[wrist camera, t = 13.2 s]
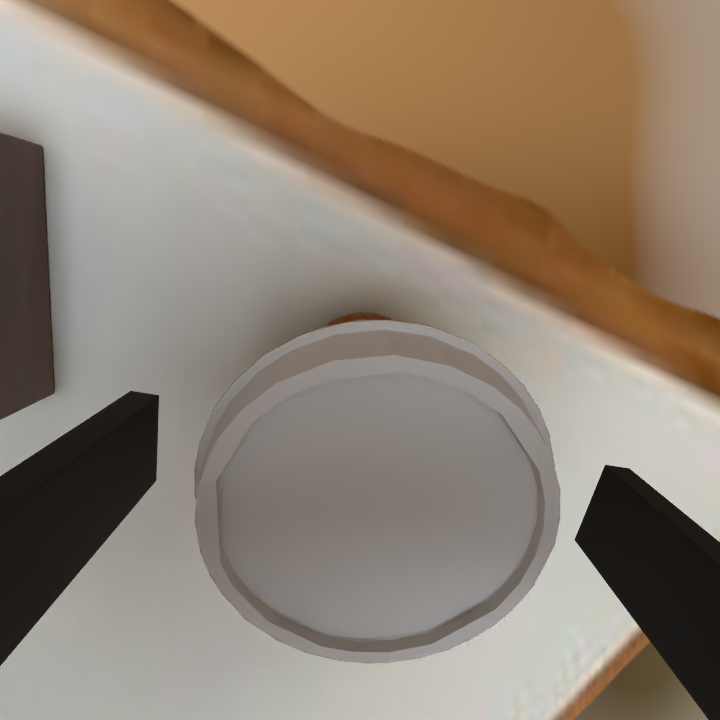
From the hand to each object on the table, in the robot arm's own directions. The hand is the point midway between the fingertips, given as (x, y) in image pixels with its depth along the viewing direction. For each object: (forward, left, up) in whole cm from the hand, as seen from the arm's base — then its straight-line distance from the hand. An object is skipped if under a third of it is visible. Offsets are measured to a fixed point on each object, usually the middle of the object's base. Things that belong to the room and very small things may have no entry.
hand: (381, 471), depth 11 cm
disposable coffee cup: (0, 0, -10) cm, 10 cm away
